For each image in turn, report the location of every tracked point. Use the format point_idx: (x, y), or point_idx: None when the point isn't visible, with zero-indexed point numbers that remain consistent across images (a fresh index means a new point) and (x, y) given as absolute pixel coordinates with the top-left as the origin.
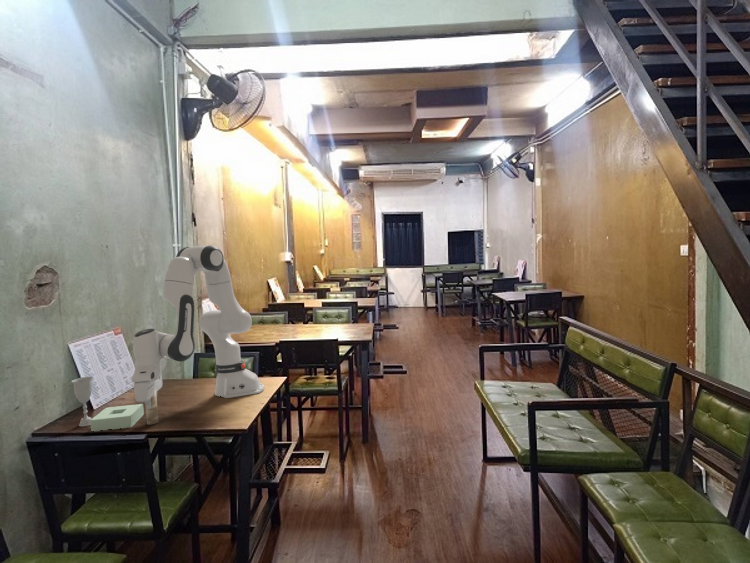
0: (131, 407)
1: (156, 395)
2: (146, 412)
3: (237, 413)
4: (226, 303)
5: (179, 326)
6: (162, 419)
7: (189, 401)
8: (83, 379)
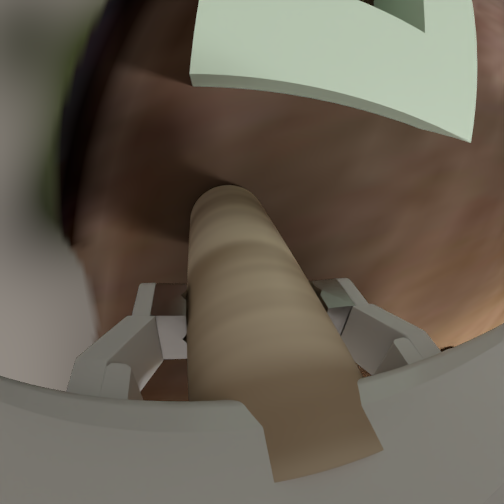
0: (439, 63)
1: (368, 369)
2: (207, 231)
3: None
4: None
5: None
6: None
7: (444, 301)
8: None
